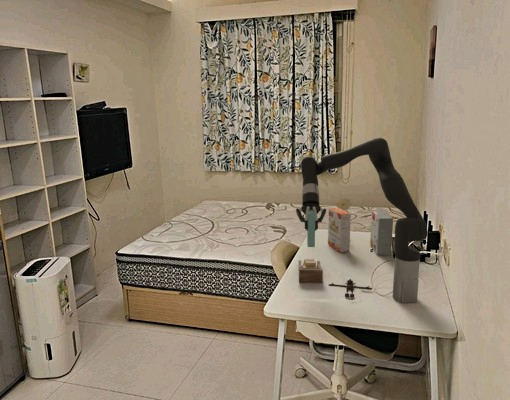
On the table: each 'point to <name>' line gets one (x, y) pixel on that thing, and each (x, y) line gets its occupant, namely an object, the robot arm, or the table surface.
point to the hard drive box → (381, 232)
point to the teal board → (311, 228)
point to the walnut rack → (310, 274)
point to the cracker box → (339, 229)
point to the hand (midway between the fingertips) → (311, 229)
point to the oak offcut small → (309, 262)
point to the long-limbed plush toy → (350, 288)
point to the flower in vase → (343, 204)
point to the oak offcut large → (308, 267)
